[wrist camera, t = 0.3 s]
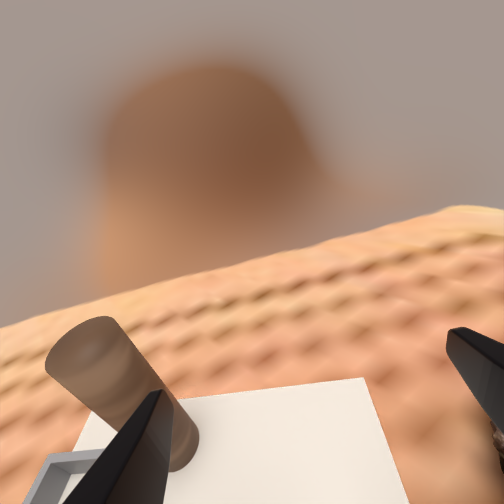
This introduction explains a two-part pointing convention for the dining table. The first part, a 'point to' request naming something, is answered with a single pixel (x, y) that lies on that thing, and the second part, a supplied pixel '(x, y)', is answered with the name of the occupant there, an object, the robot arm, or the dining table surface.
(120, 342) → the stool leg
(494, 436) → the pine cone
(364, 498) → the stool seat
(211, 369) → the dining table surface
